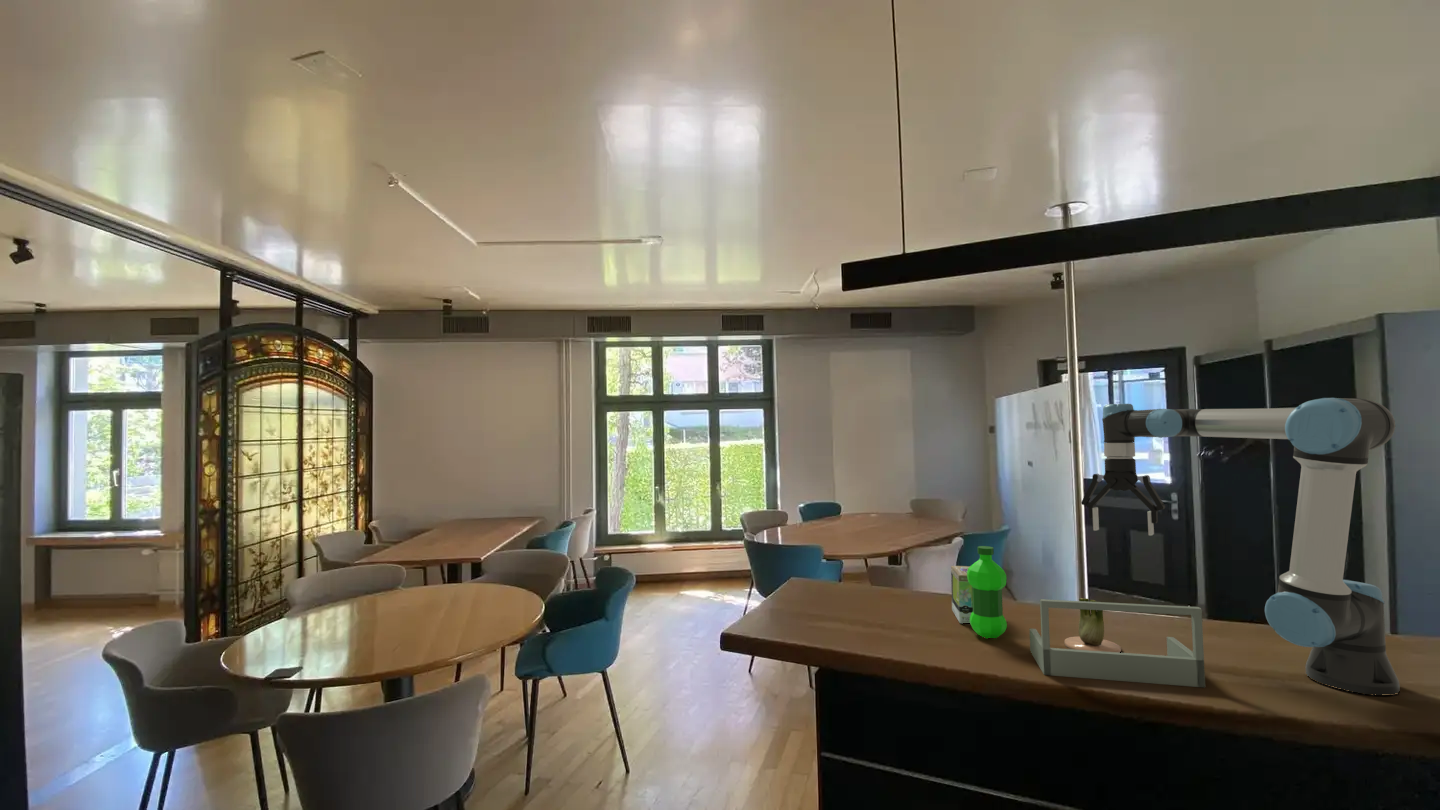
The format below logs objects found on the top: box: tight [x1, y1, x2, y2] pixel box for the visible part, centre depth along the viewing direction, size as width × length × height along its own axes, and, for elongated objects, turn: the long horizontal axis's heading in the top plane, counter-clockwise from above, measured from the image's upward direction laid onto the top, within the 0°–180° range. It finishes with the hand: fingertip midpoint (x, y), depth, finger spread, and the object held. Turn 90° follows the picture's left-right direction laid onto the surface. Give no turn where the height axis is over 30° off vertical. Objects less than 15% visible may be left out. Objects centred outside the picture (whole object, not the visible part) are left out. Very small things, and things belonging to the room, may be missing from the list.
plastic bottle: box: [967, 545, 1008, 639], centre depth 181 cm, size 10×10×25 cm
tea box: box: [950, 565, 973, 624], centre depth 198 cm, size 15×10×15 cm, turn 168°
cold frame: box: [1029, 598, 1206, 688], centre depth 155 cm, size 16×33×18 cm, turn 74°
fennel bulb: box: [1078, 597, 1105, 645], centre depth 170 cm, size 6×5×12 cm
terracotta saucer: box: [1064, 635, 1122, 653], centre depth 170 cm, size 13×13×1 cm
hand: (1122, 532), depth 181 cm, fingers open, 13 cm apart
